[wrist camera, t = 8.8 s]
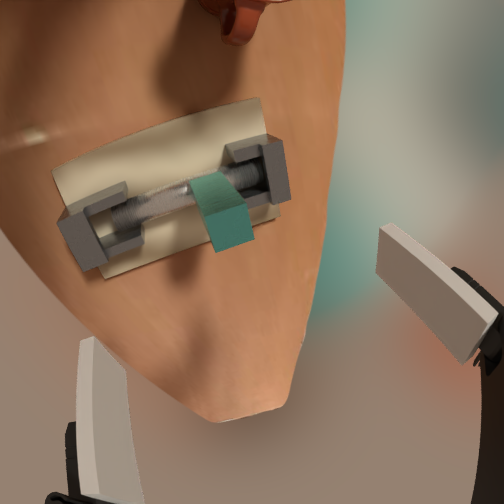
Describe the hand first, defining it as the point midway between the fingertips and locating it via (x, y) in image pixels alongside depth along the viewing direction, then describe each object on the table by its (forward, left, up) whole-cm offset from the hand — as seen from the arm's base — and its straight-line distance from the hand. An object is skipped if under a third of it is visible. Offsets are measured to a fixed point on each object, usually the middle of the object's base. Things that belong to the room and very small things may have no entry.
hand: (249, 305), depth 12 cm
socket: (+2, +7, -20) cm, 21 cm away
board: (+2, -2, -21) cm, 21 cm away
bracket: (+2, -10, -20) cm, 22 cm away
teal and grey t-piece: (+2, -1, -20) cm, 20 cm away
